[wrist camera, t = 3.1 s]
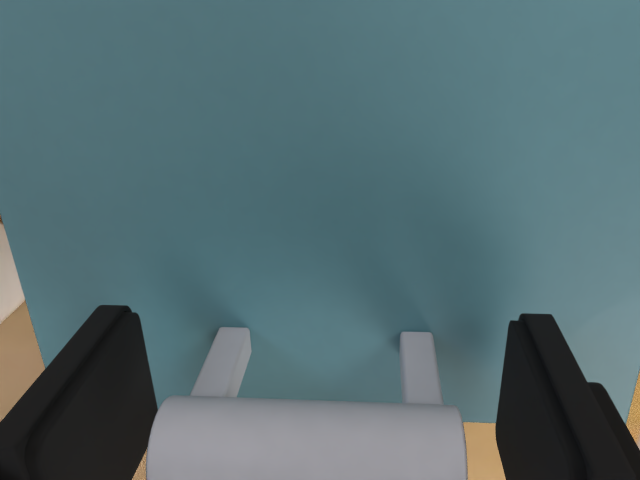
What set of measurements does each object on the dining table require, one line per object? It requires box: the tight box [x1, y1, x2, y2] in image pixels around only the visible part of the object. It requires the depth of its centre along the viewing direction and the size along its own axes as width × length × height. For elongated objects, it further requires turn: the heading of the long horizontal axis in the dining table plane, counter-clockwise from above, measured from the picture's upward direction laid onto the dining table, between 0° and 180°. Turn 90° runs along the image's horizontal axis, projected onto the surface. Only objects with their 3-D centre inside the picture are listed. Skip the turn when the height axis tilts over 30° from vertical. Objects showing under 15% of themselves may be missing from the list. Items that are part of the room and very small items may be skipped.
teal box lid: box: [0, 0, 640, 480], centre depth 8 cm, size 17×14×5 cm
